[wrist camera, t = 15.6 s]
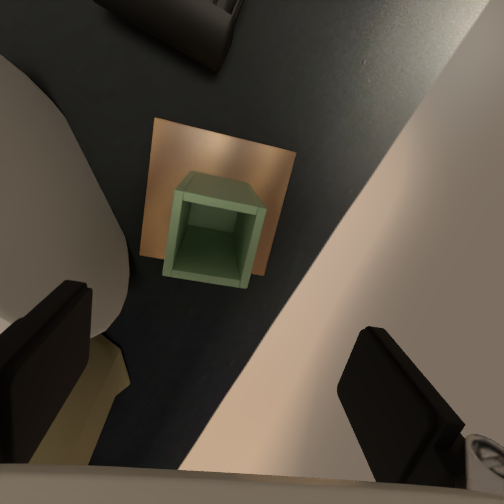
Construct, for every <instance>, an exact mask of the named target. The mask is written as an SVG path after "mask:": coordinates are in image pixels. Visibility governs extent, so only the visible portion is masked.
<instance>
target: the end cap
mask: <svg viewBox="0 0 504 504" xmlns="http://www.w3.org/2000/svg"><path fill="white" fill-rule="evenodd" d="M93 1H94V2H96V3H97V4H98V5H100V6H102V7H103V8H105V9H107V10H109V11H110V12H112V13H114V14H116V15H117V16H119V17H121V18H123V19H124V20H126V21H128V22H129V23H131V24H133V25H135V26H136V27H138V28H140V29H142V30H143V31H145V32H147V33H148V34H150V35H152V36H154V37H155V38H157V39H159V40H161V41H162V42H164V43H166V44H168V45H169V46H171V47H173V48H174V49H176V50H178V51H180V52H181V53H183V54H185V55H187V56H188V57H190V58H192V59H194V60H195V61H197V62H199V63H200V64H202V65H204V66H206V67H207V68H209V69H211V70H213V71H215V72H217V71H218V70H219V69H220V67H221V66H222V64H223V62H224V59H225V57H226V55H227V53H228V50H229V48H230V46H231V43H232V37H233V30H234V23H235V21H236V18H237V16H238V13H239V11H240V8H241V6H242V3H243V1H244V0H93Z"/></svg>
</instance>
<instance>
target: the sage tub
mask: <svg viewBox="0 0 504 504" xmlns="http://www.w3.org/2000/svg"><path fill="white" fill-rule="evenodd" d="M266 211H267V209H266V207H265V206H264V204H263V203H262V201H261V200H260V199H259V197H258V196H257V194H256V193H255V191H254V190H253V189H252V187H251V186H250V184H249V183H246V182H241V181H237V180H232V179H228V178H223V177H219V176H214V175H209V174H205V173H200V172H196V171H190V172H189V173H188V174H187V176H186V177H185V178H184V179H183V180H182V181H181V183H180V184H179V185H178V186H177V187H176V189H175V190H174V195H173V202H172V209H171V216H170V223H169V230H168V237H167V244H166V251H165V258H164V265H163V273H162V275H163V276H168V277H174V278H180V279H187V280H193V281H199V282H206V283H212V284H219V285H225V286H231V287H238V288H239V287H240V288H245V289H247V287H248V283H249V279H250V275H251V271H252V267H253V263H254V259H255V255H256V251H257V247H258V243H259V239H260V235H261V231H262V227H263V223H264V219H265V215H266Z"/></svg>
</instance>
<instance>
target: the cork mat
mask: <svg viewBox="0 0 504 504" xmlns="http://www.w3.org/2000/svg"><path fill="white" fill-rule="evenodd" d="M295 156H296V152H293V151H289V150H285V149H281V148H277V147H273V146H269V145H265V144H261V143H257V142H253V141H249V140H245V139H240V138H236V137H232V136H228V135H224V134H220V133H216V132H212V131H208V130H204V129H200V128H196V127H192V126H188V125H184V124H180V123H176V122H172V121H168V120H164V119H160V118H156V117H155V118H154V126H153V136H152V145H151V154H150V163H149V172H148V181H147V190H146V199H145V208H144V217H143V226H142V235H141V244H140V253H139V255H141V256H147V257H153V258H159V259H164V258H165V251H166V244H167V237H168V230H169V223H170V216H171V209H172V202H173V195H174V190H175V189H176V187H177V186H178V185H179V184H180V183H181V181H182V180H183V179H184V178H185V177H186V176H187V174H188V173H189V172H190V171H196V172H200V173H205V174H209V175H214V176H219V177H223V178H228V179H232V180H237V181H241V182H246V183H249V184H250V186H251V187H252V189H253V190H254V191H255V193H256V194H257V196H258V197H259V199H260V200H261V201H262V203H263V204H264V206H265V207H266V209H267V211H266V215H265V219H264V223H263V227H262V231H261V235H260V239H259V243H258V247H257V251H256V255H255V259H254V263H253V267H252V271H251V274H256V275H262V276H264V273H265V269H266V265H267V262H268V258H269V254H270V250H271V247H272V243H273V239H274V235H275V232H276V228H277V224H278V220H279V217H280V213H281V209H282V205H283V201H284V198H285V194H286V190H287V186H288V183H289V179H290V175H291V171H292V168H293V164H294V160H295Z"/></svg>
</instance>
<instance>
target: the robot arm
mask: <svg viewBox="0 0 504 504" xmlns="http://www.w3.org/2000/svg"><path fill="white" fill-rule="evenodd" d="M92 298H93V290H92V288H88V287H87V283H86V282H79V281H73V280H65V281H63V282H62V283H61V284H60V285H59V286H58V287H56V288H55V289H54V290H53V291H52V292H51V293H50V294H49V295H48V296H46V297H45V298H44V299H43V300H42V301H41V302H40V303H39V304H37V305H36V306H35V307H34V308H33V309H32V310H31V311H30V312H29V313H27V314H26V315H25V316H24V317H22V318H19V319H17V320H16V321H15V322H13V323H12V324H11V325H10V326H9V327H8V328H7V329H5V330H4V331H3V332H2V333H1V334H0V504H504V447H503V446H501V445H499V444H498V443H496V442H495V441H493V440H491V439H489V438H487V437H485V436H481V435H478V434H470V435H468V436H467V437H466V438H464V437H463V436H462V435H461V434H460V432H461V431H462V429H463V428H464V426H465V424H464V422H463V421H462V420H461V419H460V418H459V416H458V415H457V414H456V413H455V412H454V411H453V409H452V408H451V407H450V406H449V405H448V403H447V402H446V401H445V400H444V399H443V398H442V397H441V395H440V394H439V393H438V392H437V390H436V389H435V388H434V387H433V386H432V385H431V383H430V382H429V381H428V380H427V379H426V377H425V376H424V375H423V374H422V373H421V372H420V371H419V369H418V368H417V367H416V366H415V364H414V363H413V362H412V361H411V360H410V358H409V357H408V356H407V355H406V354H405V352H404V351H403V350H402V349H401V348H400V347H399V345H397V343H396V342H395V341H394V339H393V338H392V337H391V336H390V335H389V334H388V333H387V331H386V330H385V329H383V328H377V327H370V326H368V327H366V328H365V329H363V330H361V331H360V333H359V335H358V338H357V340H356V343H355V345H354V347H353V350H352V352H351V354H350V357H349V359H348V362H347V364H346V366H345V369H344V371H343V374H342V376H341V378H340V381H339V383H338V386H337V393H338V397H339V399H340V401H341V403H342V406H343V408H344V410H345V413H346V415H347V417H348V419H349V422H350V424H351V426H352V428H353V431H354V433H355V435H356V437H357V440H358V442H359V444H360V446H361V449H362V451H363V453H364V455H365V457H366V460H367V462H368V464H369V467H370V469H371V471H372V473H373V476H374V478H375V480H376V482H368V481H353V480H351V481H350V480H337V479H321V478H306V477H305V478H304V477H288V476H272V475H255V474H239V473H222V472H204V471H186V470H168V469H149V468H130V467H112V466H87V465H59V464H31V463H29V461H30V460H31V458H32V456H33V455H34V453H35V451H36V450H37V448H38V446H39V445H40V443H41V441H42V440H43V438H44V436H45V435H46V433H47V431H48V430H49V428H50V426H51V425H52V423H53V421H54V420H55V418H56V416H57V415H58V413H59V411H60V410H61V408H62V406H63V405H64V403H65V401H66V400H67V398H68V396H69V395H70V393H71V391H72V390H73V388H74V386H75V385H76V383H77V381H78V380H79V378H80V376H81V375H82V373H83V371H84V370H85V368H86V366H87V363H88V360H89V352H90V334H91V316H92Z"/></svg>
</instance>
